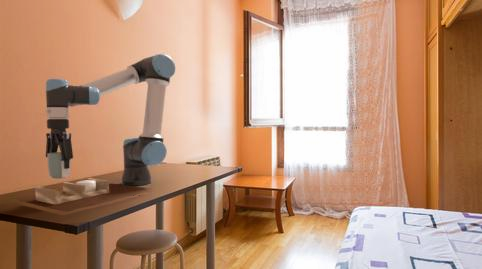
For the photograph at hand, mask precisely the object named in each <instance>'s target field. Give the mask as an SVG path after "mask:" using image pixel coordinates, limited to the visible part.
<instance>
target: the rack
mask: <svg viewBox="0 0 482 269" xmlns="http://www.w3.org/2000/svg"><path fill="white" fill-rule="evenodd" d="M86 180H95V181H96V191H94V192H89V193H85V185H80V184H76V183H74V182H67V181H66V182H62V190H61V191H58V189H53V188H49V187H48V188H47V187H42V186H35V188H34V189H35V193H34V194H35V201H37V202H43V203H47V204H52V205H58V204H64V203H68V202H72V201H77V200H81V199H86V198H91V197H95V196H100V195H104V194H110V181H109V180H106V179H105V180H104V179H97V178H91V177H90V178H86Z"/></svg>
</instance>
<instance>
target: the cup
mask: <svg viewBox="0 0 482 269" xmlns="http://www.w3.org/2000/svg"><path fill="white" fill-rule="evenodd" d="M61 159H62V155H61V151H57V152H55V153H48V157H47V171H48V174H49V177H50V178H51V179H55V180H56V179H58V180H59V179H64V178H65V179H66V178H67V177H64V178H62V169H61ZM69 166H70V167H69V168H70V169H71V159H70V160H69Z"/></svg>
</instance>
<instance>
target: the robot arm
mask: <svg viewBox="0 0 482 269" xmlns="http://www.w3.org/2000/svg"><path fill="white" fill-rule="evenodd" d="M175 73H176V63H175V61H174V60H173V58H171V57H170V56H169V55H168V54H165V53H160V54H159V53H158V54H154V55H152V56H149V57H145V58H143V59H141V60H139V61H136V62H135V63H133V64H129V65H127V67H126V68H125V69H123V70H120V71H116V72H114V73H111V74H108V75H107V76H106V75H105V76H103V77H100V78H98V79H94V80H92V81H89V82H86V83H83V84H81V85H71V84H69V83H68V80H67V79H65V78H64V79H62V78H49V79H47V80H46V83H45V100H46V102H45V103H46V110H45V112H46V118H47V119H46V128H47V129H49V130H50V132H49V133H48V132H47V133H45V134H46V135H45V136H46V143H45V147H46V148H45V158H48V153H55V152H58V149H59V152H61V155H62V159H61V169H62V178H61V179H64V177H66V178H69V177H70V176H71V175H70V174H71V173H70V172H71V165H70V166H69V160H70V161H71V160H72V159H74V154H73V144H72V133H71V132H70V133H67V130H66V129H69V128H70V120H69V118H70V117H69V116H70V114H69V110H70V109H69V107H77V106H83V105H84V106H85V105H88V106H94V105H95V106H97V105H98V104H99V102H100V98H101V96H104V95H107V94H109V93H112V92H114V91H117V90H119V89H121V88H124V87H127V86H130V85H132V84H134V85H138V84H141V83H143V82H144V83H145V82H146V84H147V90H146V91H147V92H146V100H145V108H144V109H145V110H144V117H143V128H142V133H141V134H140V135H138V137H132V138H125V139H124V140H123V146H122V148H123V149H122V150H123V171H122V175H121V179H120V185H122V186H127V187H128V186H129V187H131V186H134V187H135V186H144V185H149V184H151V183H152V182H153V180H152V179H153V178H152V176H151V172H150V169H149V167H148V166H157V165H159V164H161V163H162V162H164V160H165V159H166V156H167V153H168V152H167V146H166V145H165V144H164V137H163V135H162V128H163V125H162V124H163V116H164V109H165V100H166V99H165V97H166V88H167V87H168V86H169V85H170V83H171V78H172V77H173V76H174V75H175ZM69 167H70V168H69Z"/></svg>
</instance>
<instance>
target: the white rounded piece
mask: <svg viewBox="0 0 482 269" xmlns="http://www.w3.org/2000/svg"><path fill="white" fill-rule="evenodd" d="M75 184H80V185H85V193H89V192H94V191H96V181H95V180H87V179H86V180H79V181H76V182H75Z"/></svg>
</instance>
